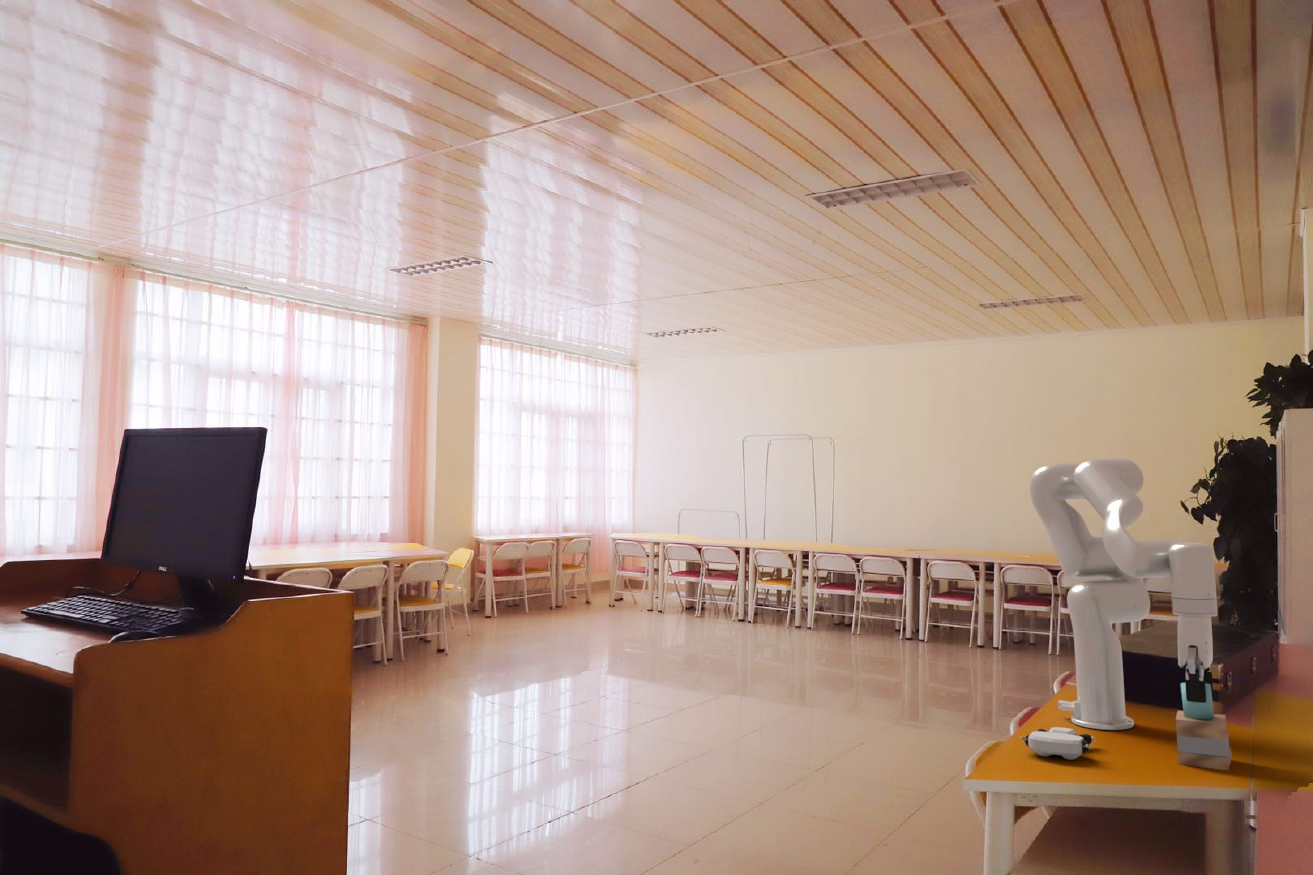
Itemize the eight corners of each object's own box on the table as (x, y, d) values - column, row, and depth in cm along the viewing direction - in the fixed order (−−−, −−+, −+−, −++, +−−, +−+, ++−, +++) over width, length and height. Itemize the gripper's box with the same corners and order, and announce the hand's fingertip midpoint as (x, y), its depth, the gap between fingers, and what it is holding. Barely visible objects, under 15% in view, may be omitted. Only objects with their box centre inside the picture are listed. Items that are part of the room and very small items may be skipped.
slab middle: (1177, 751, 170) (1176, 735, 171) (1181, 741, 177) (1180, 725, 177) (1227, 757, 166) (1226, 740, 166) (1229, 746, 173) (1228, 730, 173)
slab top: (1176, 735, 171) (1175, 719, 171) (1178, 725, 177) (1177, 710, 177) (1226, 740, 166) (1225, 724, 166) (1226, 730, 173) (1225, 714, 173)
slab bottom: (1178, 767, 170) (1177, 751, 171) (1183, 756, 177) (1182, 741, 177) (1228, 774, 166) (1227, 757, 166) (1231, 763, 172) (1230, 747, 172)
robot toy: (1034, 744, 189) (1019, 757, 177) (1034, 722, 190) (1018, 733, 177) (1099, 752, 182) (1087, 766, 170) (1098, 729, 183) (1086, 741, 171)
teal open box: (1182, 717, 172) (1178, 685, 172) (1185, 712, 176) (1182, 681, 176) (1212, 719, 169) (1209, 687, 169) (1215, 714, 173) (1211, 682, 173)
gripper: (1179, 601, 182) (1184, 686, 181) (1164, 611, 169) (1170, 703, 168) (1222, 603, 178) (1228, 690, 177) (1211, 613, 164) (1217, 708, 163)
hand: (1200, 696), depth 172 cm, fingers open, 9 cm apart
